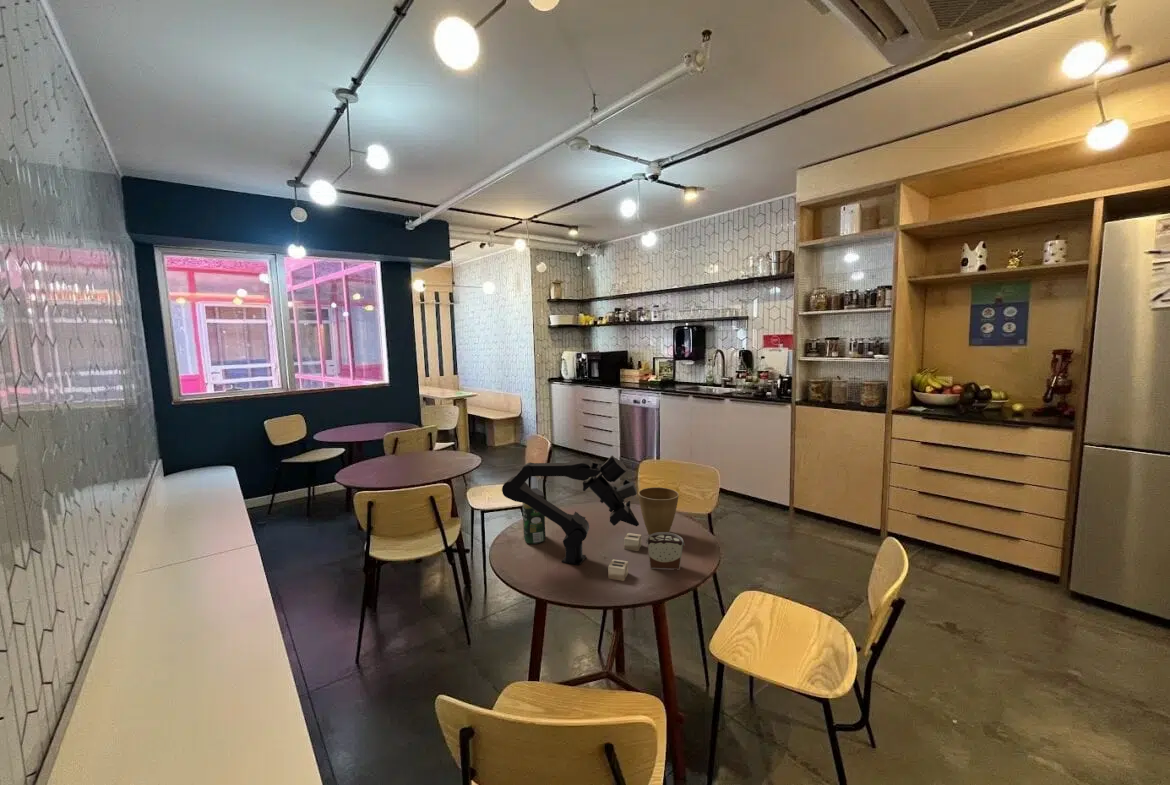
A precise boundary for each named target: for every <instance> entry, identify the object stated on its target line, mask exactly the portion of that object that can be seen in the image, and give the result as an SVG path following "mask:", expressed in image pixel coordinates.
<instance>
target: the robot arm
mask: <svg viewBox="0 0 1170 785" xmlns="http://www.w3.org/2000/svg"><path fill="white" fill-rule="evenodd" d="M626 472H628V468H627V467H626V466H625V464H624V463H623V461H621V460H620V459H619V458H617V457H615V456H614V455H610V457H609V458H608V459H607V460H606V461H605V462H604V463H597V462H592V461H591V460H590V459H589V458H581V459H574V460H572V461H569V462H527V463H526V464H525V465H523V467H522V468H521V470H520V471H519V472H518V473H516V475H514V476H511V477H510V478H508V480H506V481H505V482H504V484H503V485H502V487H501V492H502V495H503V496H504V497H505V498H506V499H508V500H511V501H514V502H517V503H522V504H523V503H525V504H527V505H528V506H530V507H531V508H533V509H534V510H536V511H538V512H539V513H541V514H542V515H544V516H545V517H546V518H547V519H548V520H550V521H552V522H553V523H554V524H556V525H557V526H559V527H560V528H561V529H562V531H563V532H564V533H565V535H564V538H563V540H562V543H563V546H564V549H565V553H564V554H565V556H564V557H563V558H562V560H561V563H565V564H571V565H577V566H581V564H582V563H583V562H584V561H585V559H586V558H587V555H586V554H583V541H585V540H586V538H587V537H588V534H589V531H590V523H589V521H588V520H587V519H586V518H587V517H586V516H582V515H581V514H579V512H578V511H574V513H573V514H569V513H567V512H565V511H564V510H562V509H561V508H560V507H558V506H556V505H554V504H553V503H551V501H548V500H547V499H545V497H544V498H542V497H541V496H539V495H537V494H536V493H534V492H533V491H532V490H531V489H532V488H531V487H530V486H529V485H528V483H527V480H529V478H530V477H566V478H569V479H572V480H576V481H577V480H578V481H581V482H582V491H583V492H585V491H586V490H588V489H590V490H591V491H592V492H593V493H594V494H595V496H597V497H598V499H600V500H599V502H600V503H601V504H603V503H604V505H605V506H606V507H607V508H608V512H610V514H609V522H610V524H612V526H616V525H617V524H619V523H620V522H623V523H626V524H628V525H632V526H635V527H638V526H640V523H639V521H638V520H637V518H636V516H635V514H634V512H633V511H632V509H631V500H629V501H628V502H626V501H625V499H628V498H630V497H634V496H637V493H638V492H637V491H638V490H637V487H636V485H635V483H634V481H633V480H632V481H631V480H629V479H628V478H626V479H624V480H623V483H622V485H620V486H619V487H618V486H616V485H614V484H613V485H612V484H611V483H615V482H617V480H618V479H620V478H621V476H624V474H625V473H626Z"/></svg>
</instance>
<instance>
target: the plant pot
mask: <svg viewBox="0 0 1170 785" xmlns="http://www.w3.org/2000/svg"><path fill="white" fill-rule="evenodd" d="M637 493H638V500H639V507H640V511H641V516H642V519H643V522H644V525H645V529H646V531H647V534H648V536H649V535H651V534H653V533H658V532H668V533H670V531H671V528H672V526H673V523H674V519H675V516H676V511H677V508H678V502H679V495H680V494H679V492H678V491H676V490H675V489H671V488H668V487H661V486H660V487H659V486H658V487H655V486H654V487H652V486H651V487H647V488H642V489H640V490H638V492H637Z"/></svg>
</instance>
